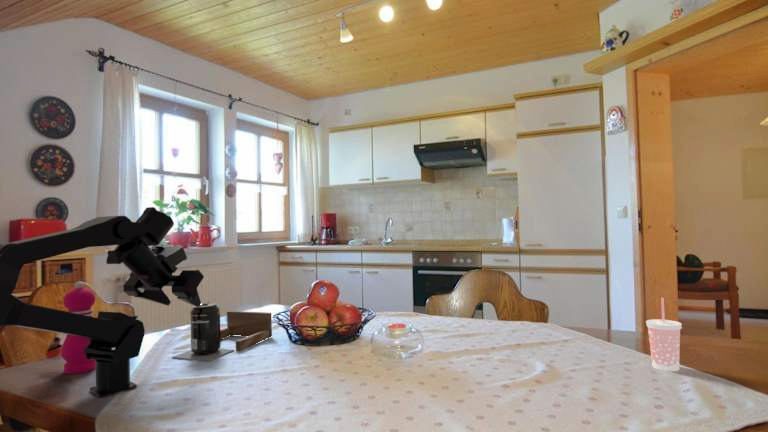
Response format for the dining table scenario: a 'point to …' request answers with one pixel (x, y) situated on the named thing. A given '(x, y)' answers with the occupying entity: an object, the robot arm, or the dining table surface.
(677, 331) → the beverage cup
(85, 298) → the pepper mill
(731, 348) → the dining table surface
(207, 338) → the beverage can
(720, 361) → the dining table surface
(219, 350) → the mat
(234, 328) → the shelf lane
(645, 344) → the dining table surface
